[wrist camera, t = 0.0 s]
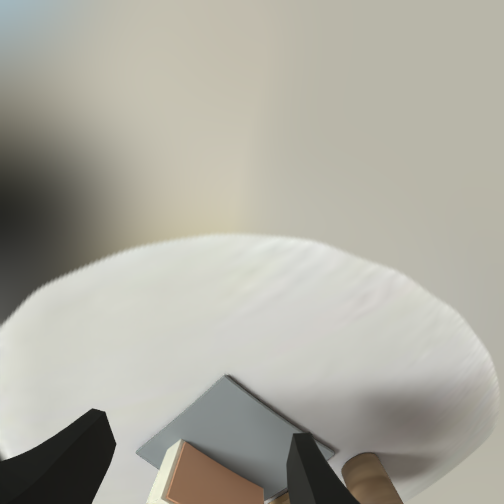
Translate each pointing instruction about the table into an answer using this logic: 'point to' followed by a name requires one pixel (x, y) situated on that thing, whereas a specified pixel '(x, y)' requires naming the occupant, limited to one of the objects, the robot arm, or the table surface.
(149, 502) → the tile
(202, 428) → the mat
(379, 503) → the dowel
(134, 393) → the table surface
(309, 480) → the robot arm
